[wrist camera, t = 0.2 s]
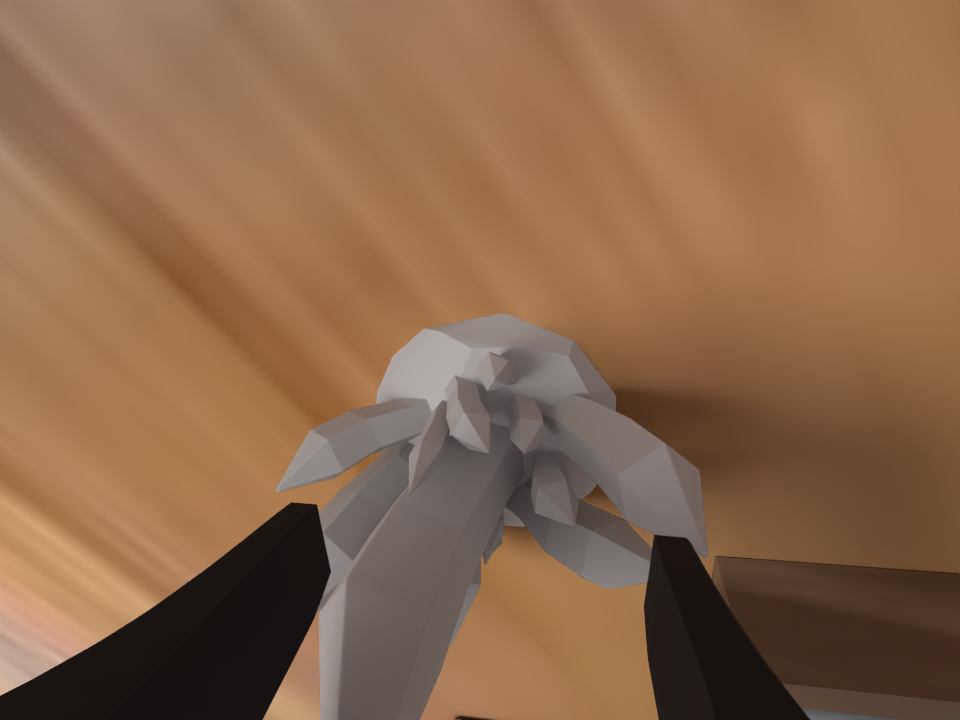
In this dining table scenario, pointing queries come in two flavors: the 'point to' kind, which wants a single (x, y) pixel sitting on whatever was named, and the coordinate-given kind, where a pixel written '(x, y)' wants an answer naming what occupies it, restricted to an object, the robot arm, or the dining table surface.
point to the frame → (852, 634)
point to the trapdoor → (838, 716)
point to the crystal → (473, 498)
